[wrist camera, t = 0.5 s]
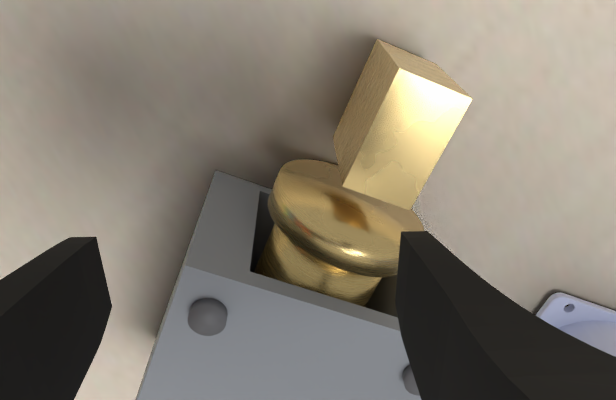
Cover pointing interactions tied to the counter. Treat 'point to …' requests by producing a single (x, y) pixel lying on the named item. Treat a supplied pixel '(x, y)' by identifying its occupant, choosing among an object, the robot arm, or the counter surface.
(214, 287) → the plate
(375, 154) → the brass fitting
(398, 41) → the counter surface
